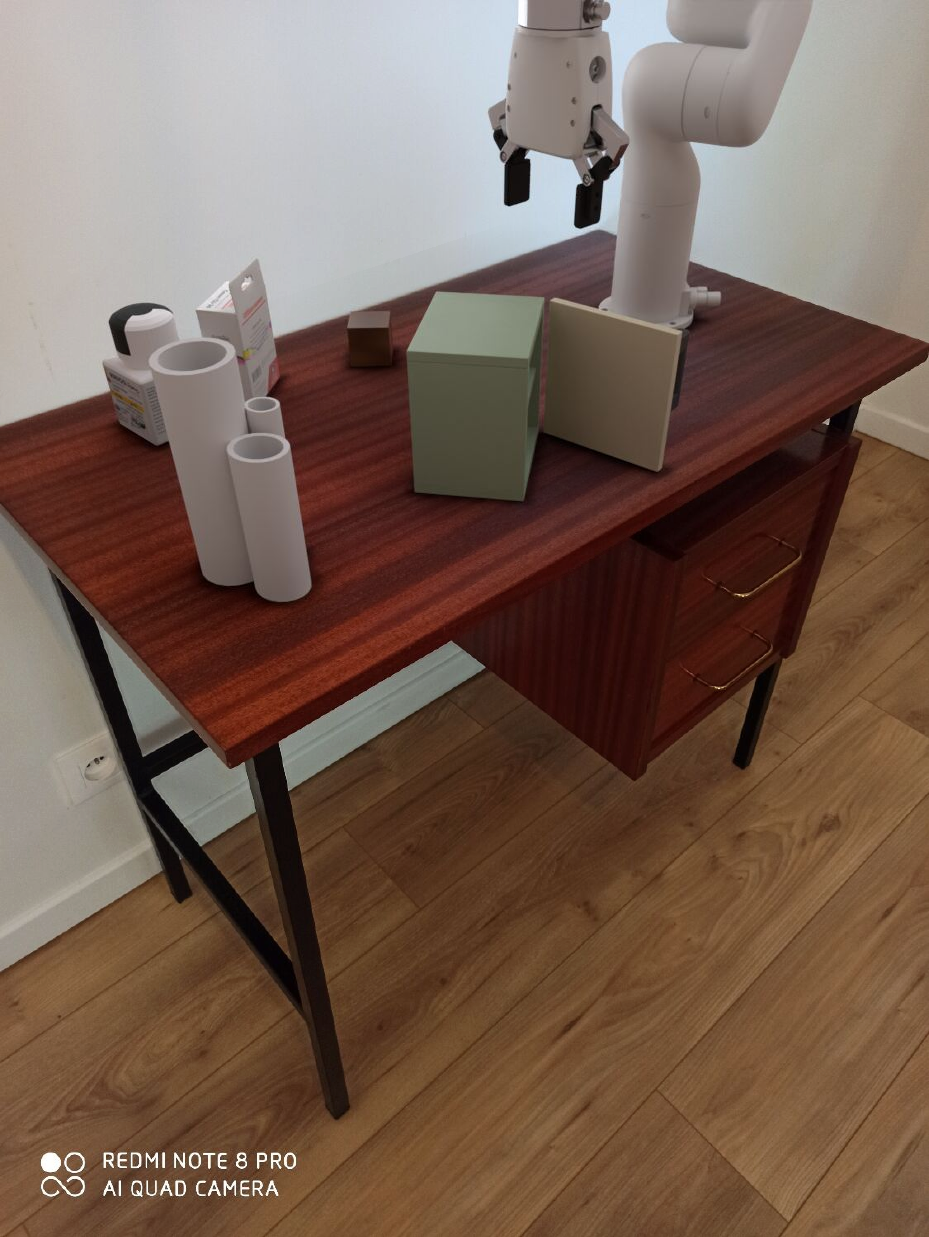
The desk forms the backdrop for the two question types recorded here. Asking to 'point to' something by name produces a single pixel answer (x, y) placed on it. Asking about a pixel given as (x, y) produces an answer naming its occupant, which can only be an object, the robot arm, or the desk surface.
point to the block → (370, 338)
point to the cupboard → (476, 394)
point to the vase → (232, 470)
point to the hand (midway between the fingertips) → (550, 214)
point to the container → (138, 366)
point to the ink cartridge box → (244, 328)
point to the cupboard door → (612, 381)
